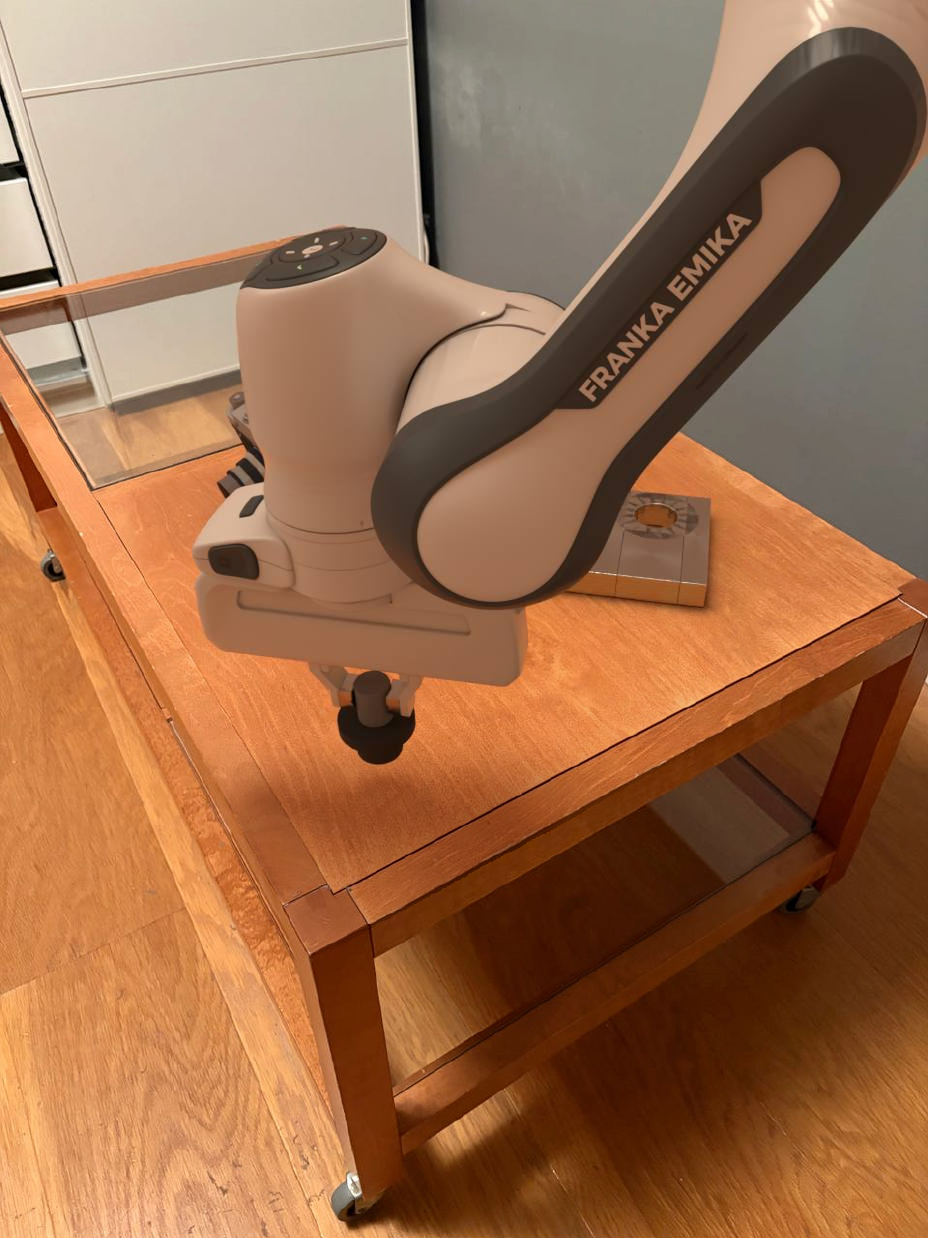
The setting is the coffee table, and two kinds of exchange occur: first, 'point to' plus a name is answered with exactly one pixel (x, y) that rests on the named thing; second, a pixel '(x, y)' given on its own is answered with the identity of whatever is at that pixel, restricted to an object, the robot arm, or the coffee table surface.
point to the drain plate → (655, 551)
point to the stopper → (374, 721)
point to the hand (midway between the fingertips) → (374, 705)
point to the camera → (253, 462)
